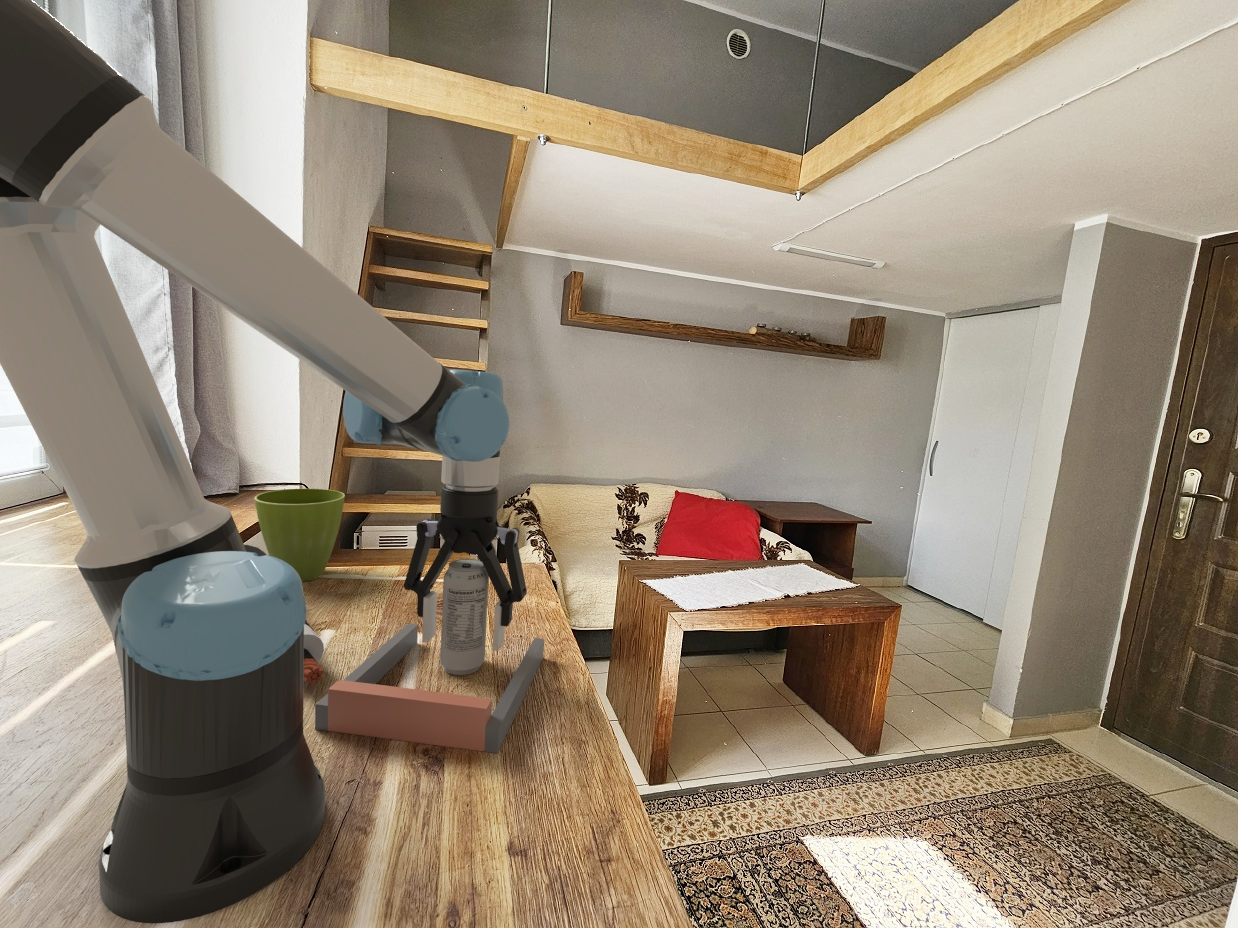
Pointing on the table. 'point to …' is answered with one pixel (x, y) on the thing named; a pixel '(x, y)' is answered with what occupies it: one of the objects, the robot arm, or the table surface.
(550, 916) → the table surface
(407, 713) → the guide lane
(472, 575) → the energy drink can
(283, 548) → the flower pot
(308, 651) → the cable
